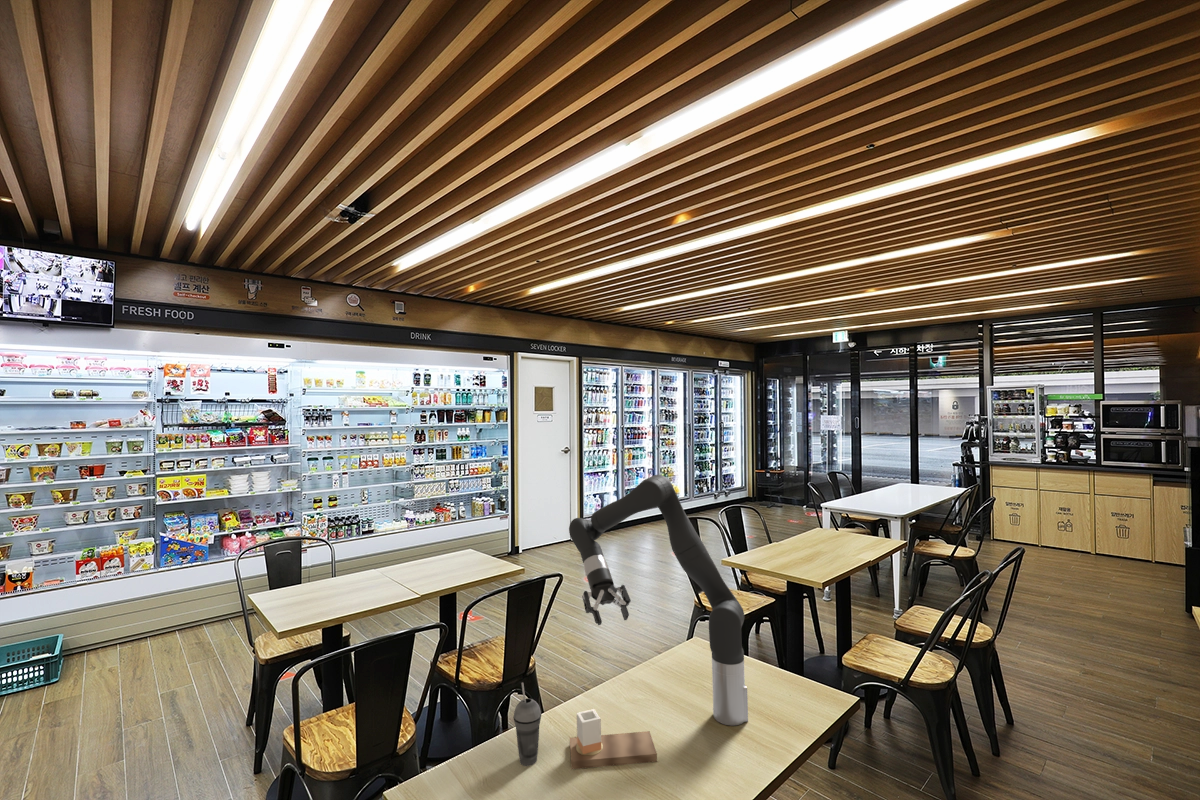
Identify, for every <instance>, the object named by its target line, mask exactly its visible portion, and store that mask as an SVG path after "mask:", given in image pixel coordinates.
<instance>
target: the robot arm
mask: <svg viewBox="0 0 1200 800" xmlns="http://www.w3.org/2000/svg"><path fill="white" fill-rule="evenodd" d="M656 508H657V509H659V512H660V513H661V515H662V517H663V518H664V520H665V524H666V526H667V532H668V539H669V543H670V546H671V547H670V548H671V549H672V552H673V554H674V556H675V557H676V560H677V562H678V563H679V565H680V567H681V568H682V570H683V572H685V574H686V575H687V576H688V577H689V578H690V579H691V580H693V581H694V582H695V584H696V585H698V587H700V589H701V590H702V592H703V593H704V595H705V597H706V599H707V601H708V603H709V605H710V607H711V612H710V614H709V616H708V637H709V638H708V639H709V648H710V651H711V671H712V672H711V673H712V674H711V675H712V677H711V678H712V683H711V684H712V711H713V712H712V713H713V714H712V715H713V718H714V720H716V722H718V723H720V724H722V725H726V726H738V725H739V726H740V725H742V724H744V723H745V722H749V703H748V698H749V697H748V687H747V685H746V684H745V680H746V679H745V651H744V648H743V646H742V645H743V644H742V627H743V625H744V622H745V611H744V609H743V606H742V605H741V604H740V602H739V600H738V599H737V598H736V596H735V595H734V594H733V592H732V590H730V588H729V587H728V585H727V584H726V583H725V581H724V579H723V578H722V575H721V574H720V571H719V570H718V568H717V566H716V564H715V562H714V561H713V559H712V557H711V555H710V553H709V551H708V550H707V548H706V545H704V542H703V540H702V539H701V538H700V536H699V534H698V532H696V529H695V527H694V526H693V524H692V522H691V520H690V519H689V517H688V515H687V514H686V512H685V509H684V508H683V505H682V503H681V501H680V499H679V497H678V495H677V492H676V490H675V487H674V486H673V484H672V482H671V481H670V480H669V478H667V477H666V476H664V474H663V475H662V474H654V475H651V476H650V477H647V478H645V479H643V480H642V481H641V482H640V483H639V484H638V485H637V486H635V487H634V488H633V489H632V490H630V492H629V493H627V494H626V495H624V496H623V497H621V498H619V499H617V500H615V501H612V502H611V503H608V504H606V505H604V506H603V507H601V508H600V509H598V510H596V511H594V512H593V513H592V514H591V516H590V520H589V519H585V518H582V517H575V518H573V519H572V520H571V521H570V523H569V527H568V534H569V537H570V539H571V541H572V543H573V544H574V546H575V547H576V549H577V551H578V552H579V553H580V557H581V560H582V563H583V567H584V572H585V577H586V579H587V583H588V586H589V589H590V592H588V591H587V590H584V592H583V594H582V598H581V599H582V602H583V606H584V607H583V608H584V612H585V613H586V614H592V617H593V619H594V622H595V624H597V626H601V625H602V624H603V623H602V622H603V621H602V617H601V614H600V611H599V610H598V609H599V606H600V605H602V606H604V605H607V604H609V605H610V604H613V605H615V606H618V607H619V608H620V612H621V615H622V619H623V621H628V618H629V617H630V613H629V610H628V607H629V606H630V603H631V598H630V595H629V593H628V590H627V588H626V585H624V584H621V586H617V587H616V585H615V584H614V580H613V577H612V574H611V572H610V569H609V565H608V562H607V560H606V558H605V556H604V553H603V550H602V548H601V545H600V543H599V542H597V541H596V540H597V539H599V538H600V537H601V536H602V535H603V534H605V532H606V531H607V530H609V529H611V528H614V526H617V525H619V524H620V523H622V522H623V521H625V520H627V519H628V518H629V517H631V516H633V515H635V514H638V513H640V512H644V511H648V510H652V509H656ZM617 593H618V594H617ZM620 595H621V596H620ZM591 598H592V599H593V600H594V601H595V602H594V605H593V606H592V605H591V602H590V600H591Z"/></svg>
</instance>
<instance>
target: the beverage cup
mask: <svg viewBox="0 0 1200 800" xmlns="http://www.w3.org/2000/svg"><path fill="white" fill-rule="evenodd" d="M521 689H522V697H523V699H521V700H520V701H519V702H518V703H517V704H516V705H515V706H516V707H515V709H514V712H513V716H512V717H513V720H514V721H513V722H514V726H515V731H516V732H515V733H516V741H517V743H516V744H517V750H518V751H517V753H518V758H519V764H520V765H522V766H523V767H530V766H533V765H535V764H536V763H537V761H538V754H539V740H540V738H539V737H540V723H541V719H542V711H541V708H540V705H539V703H538V702H537V701H536V700H534V699H533V698H526V693H525V686H524V682H521Z"/></svg>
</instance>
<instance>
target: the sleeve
mask: <svg viewBox="0 0 1200 800" xmlns="http://www.w3.org/2000/svg"><path fill="white" fill-rule="evenodd" d="M601 719H602V718H601V717H600V716H599V714H598V712H597V711H596V709H595V708H592V709H588V710H583V711H579V712H576V737H577V743H578V745H579V747H580V749H581V751H582V753H583V754H586V753H590V752H594V751H598V750H601V735H602V722H601V721H602V720H601Z"/></svg>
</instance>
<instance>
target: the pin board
mask: <svg viewBox="0 0 1200 800" xmlns="http://www.w3.org/2000/svg"><path fill="white" fill-rule="evenodd" d="M569 749H570V751H569V753H570V754H569V755H570V763H571V765H570V768H571V770H580V769H588V768H589V769H590V768H601V767H611V766H613V767H614V766H623V765H633V764H644V763H645V764H646V763H656V762H658V753H657V750H656V747H655V744H654V741H653V738H652V734H651V732H650V730H649V731H648V730H646V731H638V732H637V731H635V732H623V733H612V734H611V733H610V734H609V733H608V734H601V750H598V751H594V752H590V753H586V754H583V753H582V751H581V749H580V747H579V745H578V743H577V736H576V737H569Z"/></svg>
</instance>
